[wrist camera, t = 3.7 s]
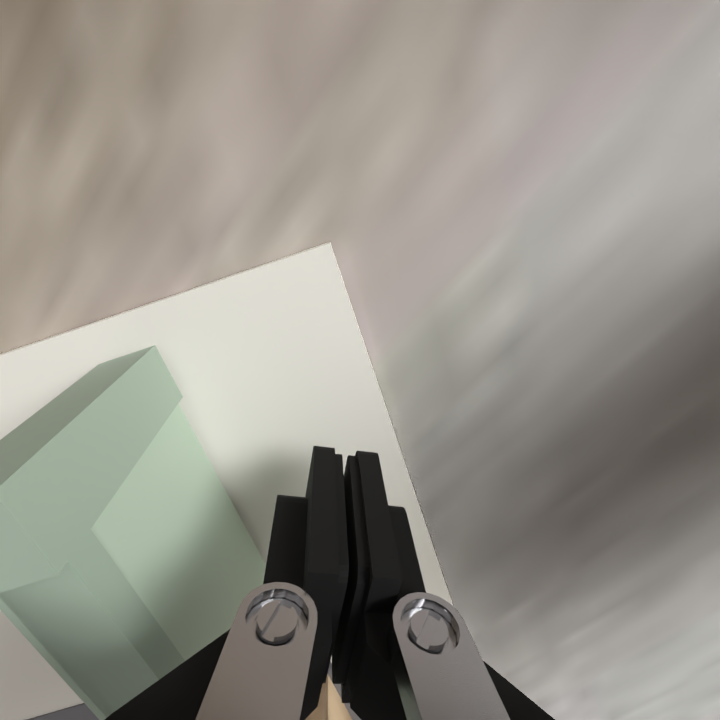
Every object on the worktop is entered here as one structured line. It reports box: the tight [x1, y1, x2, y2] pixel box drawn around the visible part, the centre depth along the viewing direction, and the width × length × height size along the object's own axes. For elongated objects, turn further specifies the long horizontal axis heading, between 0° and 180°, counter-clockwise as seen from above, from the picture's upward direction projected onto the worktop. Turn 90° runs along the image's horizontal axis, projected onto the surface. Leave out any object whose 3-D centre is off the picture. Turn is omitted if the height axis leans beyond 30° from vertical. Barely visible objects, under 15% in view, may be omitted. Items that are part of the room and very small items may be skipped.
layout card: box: [0, 242, 454, 720], centre depth 17 cm, size 26×20×1 cm
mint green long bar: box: [0, 345, 266, 720], centre depth 11 cm, size 12×2×6 cm, turn 18°
